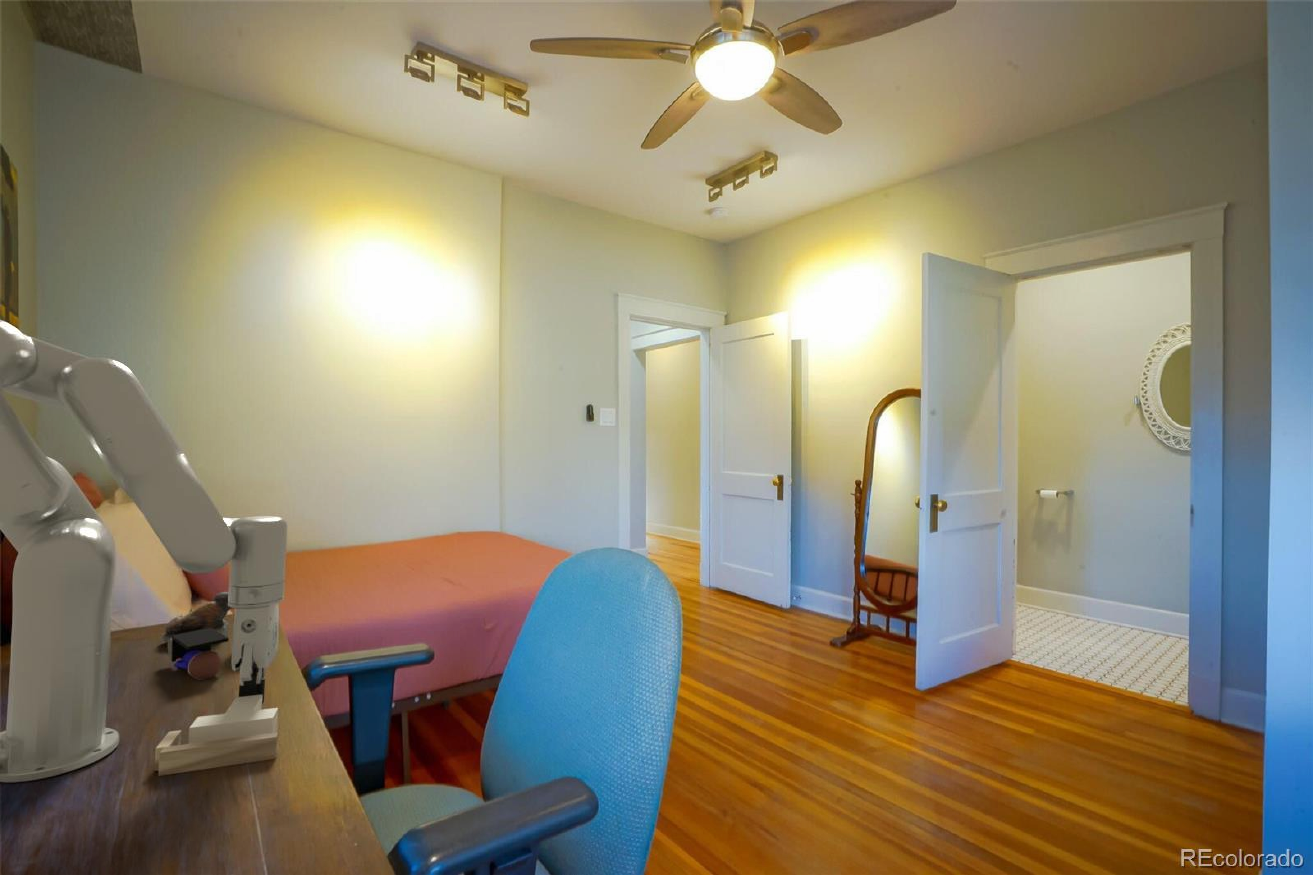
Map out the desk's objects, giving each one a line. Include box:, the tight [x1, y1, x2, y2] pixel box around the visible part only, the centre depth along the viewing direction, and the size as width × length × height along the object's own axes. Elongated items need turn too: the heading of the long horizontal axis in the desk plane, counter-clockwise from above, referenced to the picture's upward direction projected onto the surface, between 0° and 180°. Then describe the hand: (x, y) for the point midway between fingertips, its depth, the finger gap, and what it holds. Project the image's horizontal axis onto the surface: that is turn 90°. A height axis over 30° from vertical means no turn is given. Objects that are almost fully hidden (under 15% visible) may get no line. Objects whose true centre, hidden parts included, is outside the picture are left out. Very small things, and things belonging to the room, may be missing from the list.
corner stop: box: [153, 729, 280, 777], centre depth 81 cm, size 6×14×3 cm, turn 113°
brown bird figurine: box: [161, 591, 233, 643], centre depth 127 cm, size 12×7×10 cm, turn 119°
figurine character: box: [167, 628, 229, 681], centre depth 110 cm, size 7×8×15 cm
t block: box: [188, 695, 279, 744], centre depth 88 cm, size 10×10×4 cm
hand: (251, 706), depth 94 cm, fingers closed
